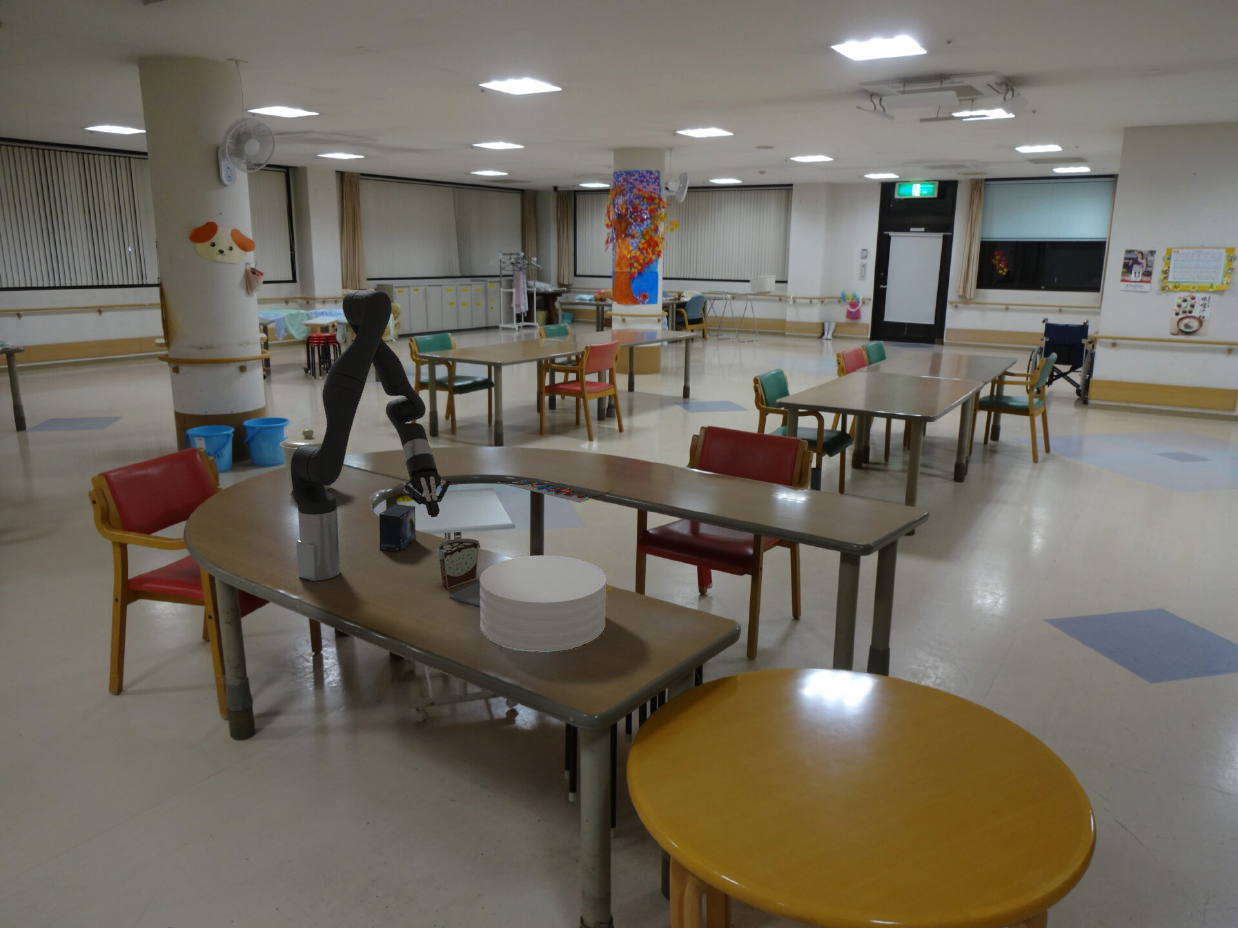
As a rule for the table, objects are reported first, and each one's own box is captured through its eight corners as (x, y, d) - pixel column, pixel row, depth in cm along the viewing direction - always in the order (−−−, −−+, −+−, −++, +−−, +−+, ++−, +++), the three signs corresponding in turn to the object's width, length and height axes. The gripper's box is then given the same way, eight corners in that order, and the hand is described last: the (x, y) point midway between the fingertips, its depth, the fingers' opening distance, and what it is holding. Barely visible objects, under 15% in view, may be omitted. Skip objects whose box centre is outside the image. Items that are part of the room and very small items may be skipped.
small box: (400, 552, 235) (399, 516, 232) (378, 550, 236) (377, 513, 233) (417, 540, 245) (416, 505, 242) (396, 538, 246) (394, 503, 244)
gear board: (614, 485, 301) (580, 497, 286) (613, 492, 302) (580, 504, 286) (518, 463, 326) (482, 473, 311) (518, 470, 327) (482, 480, 311)
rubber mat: (482, 607, 201) (482, 605, 201) (449, 597, 206) (449, 595, 206) (528, 583, 216) (528, 581, 216) (496, 575, 221) (496, 572, 221)
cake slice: (464, 571, 223) (464, 534, 221) (480, 577, 219) (480, 540, 217) (426, 584, 214) (425, 546, 211) (442, 590, 210) (441, 552, 208)
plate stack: (543, 590, 212) (543, 546, 210) (630, 624, 195) (632, 577, 192) (454, 625, 192) (453, 577, 189) (542, 666, 174) (543, 614, 171)
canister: (348, 484, 298) (345, 425, 293) (323, 499, 281) (320, 436, 275) (299, 481, 300) (296, 422, 295) (272, 495, 283) (267, 432, 278)
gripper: (397, 454, 225) (412, 512, 218) (446, 450, 232) (462, 505, 224) (392, 469, 231) (407, 525, 224) (440, 464, 237) (456, 519, 230)
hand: (434, 515), depth 224 cm, fingers closed
